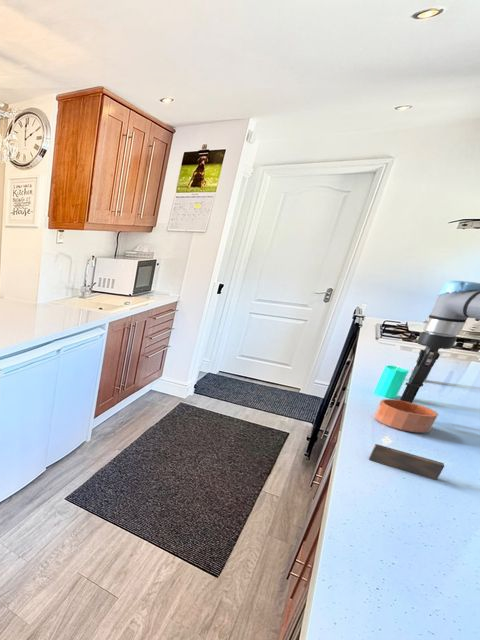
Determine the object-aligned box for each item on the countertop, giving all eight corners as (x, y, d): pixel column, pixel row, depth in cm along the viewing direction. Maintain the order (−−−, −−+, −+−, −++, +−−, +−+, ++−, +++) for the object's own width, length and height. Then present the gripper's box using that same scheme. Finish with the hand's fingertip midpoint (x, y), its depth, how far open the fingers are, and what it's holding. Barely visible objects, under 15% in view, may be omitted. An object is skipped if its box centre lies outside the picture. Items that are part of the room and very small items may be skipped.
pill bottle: (428, 382, 162) (437, 362, 159) (412, 380, 164) (422, 361, 161) (420, 378, 166) (430, 359, 163) (406, 377, 168) (415, 357, 165)
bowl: (432, 428, 122) (442, 410, 120) (423, 438, 116) (433, 419, 114) (379, 413, 132) (387, 396, 130) (368, 421, 125) (376, 403, 123)
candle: (369, 390, 151) (383, 360, 146) (389, 393, 149) (403, 362, 145) (379, 396, 145) (394, 365, 141) (400, 399, 144) (415, 368, 139)
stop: (435, 477, 97) (443, 463, 95) (436, 480, 96) (444, 466, 94) (369, 456, 105) (375, 443, 103) (368, 459, 103) (375, 446, 102)
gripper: (420, 327, 128) (388, 395, 137) (422, 334, 119) (388, 405, 128) (455, 332, 123) (420, 402, 132) (460, 339, 114) (421, 413, 123)
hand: (404, 404), depth 130 cm, fingers closed
